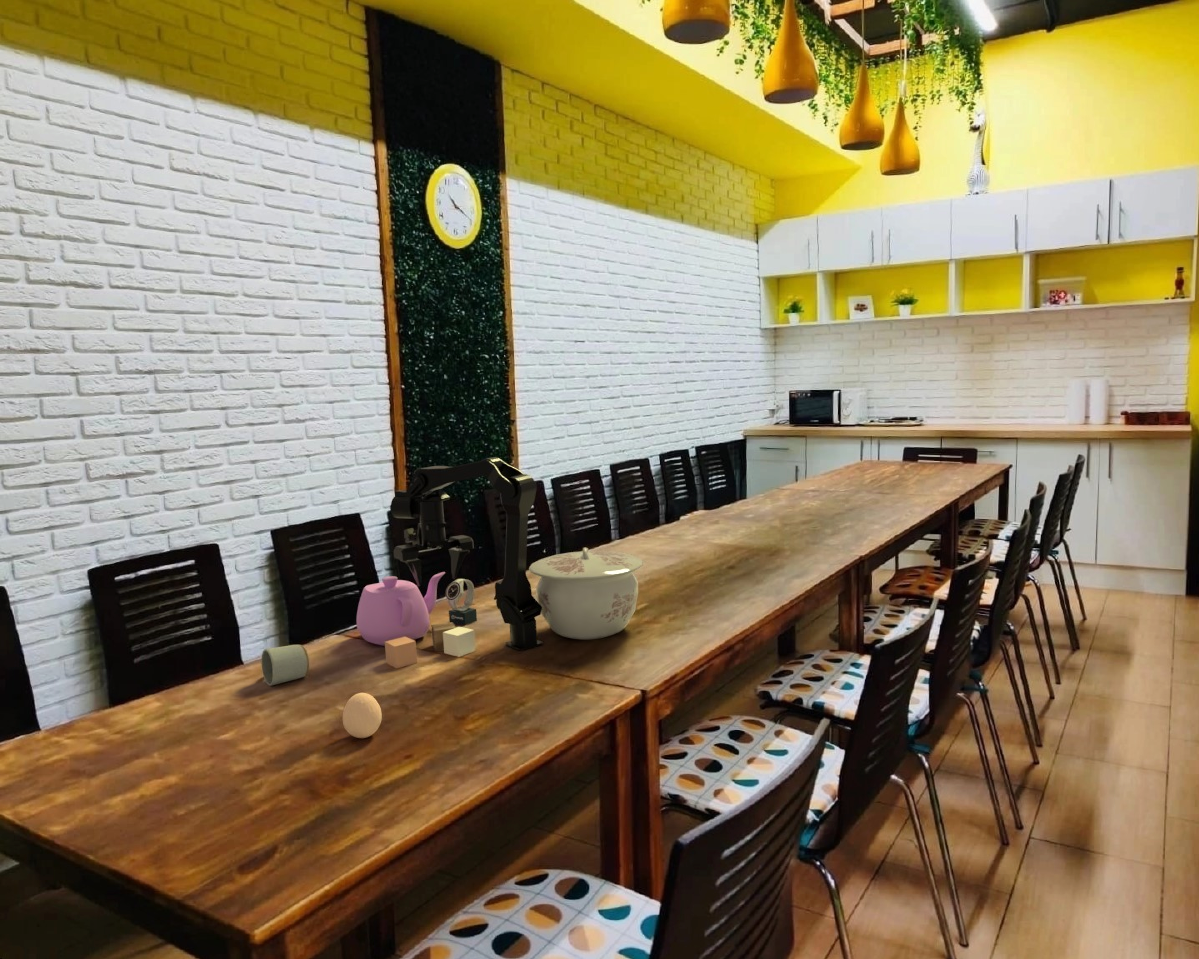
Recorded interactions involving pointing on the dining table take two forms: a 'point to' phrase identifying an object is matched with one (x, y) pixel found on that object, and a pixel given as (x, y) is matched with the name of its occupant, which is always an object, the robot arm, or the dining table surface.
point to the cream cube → (459, 641)
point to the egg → (362, 715)
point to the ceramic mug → (284, 664)
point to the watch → (464, 613)
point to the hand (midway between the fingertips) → (437, 582)
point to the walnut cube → (440, 634)
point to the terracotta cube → (400, 652)
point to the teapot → (395, 610)
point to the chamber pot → (587, 592)
